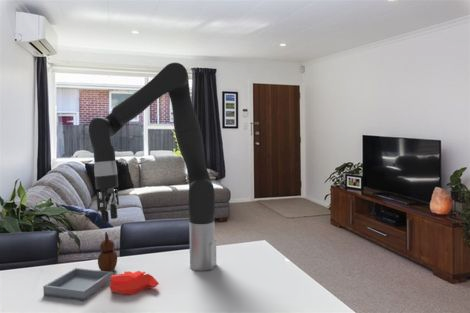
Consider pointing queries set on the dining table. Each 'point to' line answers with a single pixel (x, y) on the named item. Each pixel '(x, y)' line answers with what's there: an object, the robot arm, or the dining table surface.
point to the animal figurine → (132, 282)
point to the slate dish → (78, 284)
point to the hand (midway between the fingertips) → (110, 220)
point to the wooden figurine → (107, 255)
